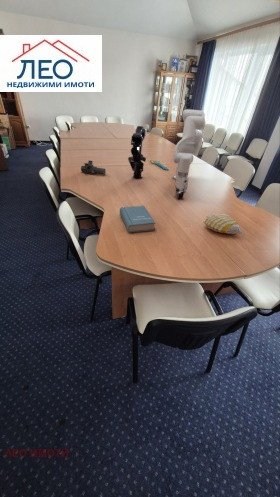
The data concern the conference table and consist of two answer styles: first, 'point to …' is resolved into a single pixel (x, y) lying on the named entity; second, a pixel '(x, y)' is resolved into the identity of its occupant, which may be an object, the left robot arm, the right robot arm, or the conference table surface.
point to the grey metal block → (177, 194)
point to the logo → (159, 164)
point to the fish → (223, 224)
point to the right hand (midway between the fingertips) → (178, 197)
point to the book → (137, 219)
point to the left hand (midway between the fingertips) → (135, 172)
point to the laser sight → (92, 169)
